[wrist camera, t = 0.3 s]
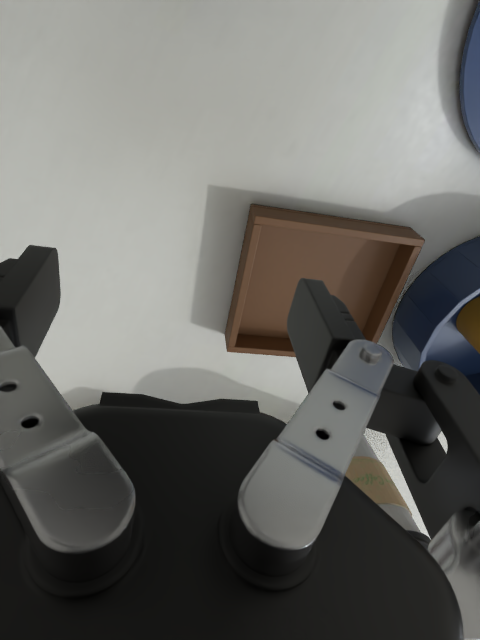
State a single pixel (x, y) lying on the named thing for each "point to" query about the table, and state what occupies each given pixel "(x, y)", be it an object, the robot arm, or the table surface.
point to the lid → (471, 80)
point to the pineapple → (470, 323)
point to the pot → (440, 313)
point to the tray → (314, 273)
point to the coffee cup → (381, 488)
